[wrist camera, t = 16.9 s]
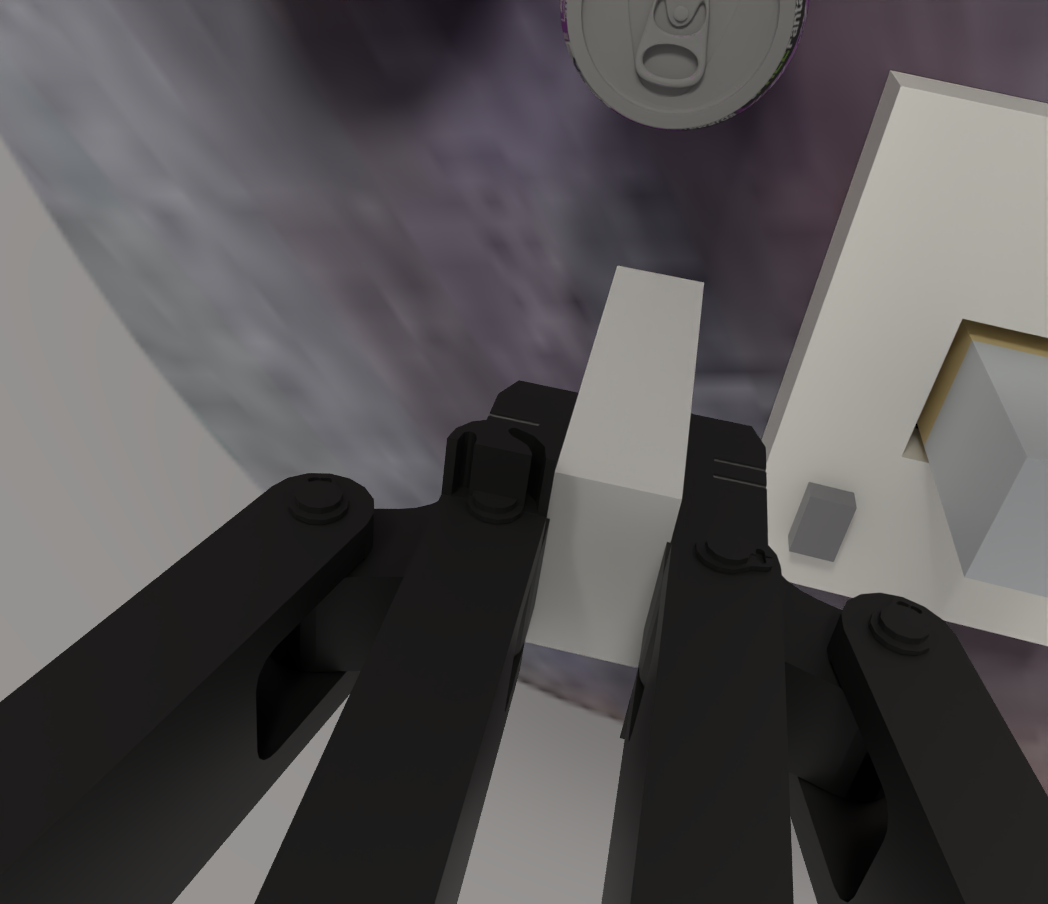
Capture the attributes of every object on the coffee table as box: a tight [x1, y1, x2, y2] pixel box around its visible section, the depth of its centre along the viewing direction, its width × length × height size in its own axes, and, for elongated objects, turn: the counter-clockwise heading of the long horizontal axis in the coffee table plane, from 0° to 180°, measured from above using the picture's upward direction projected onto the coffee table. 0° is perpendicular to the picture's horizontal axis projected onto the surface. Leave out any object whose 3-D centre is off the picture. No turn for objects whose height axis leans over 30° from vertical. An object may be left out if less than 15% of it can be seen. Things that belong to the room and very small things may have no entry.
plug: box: [917, 319, 1048, 598], centre depth 38 cm, size 5×4×12 cm
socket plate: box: [761, 70, 1048, 646], centre depth 41 cm, size 22×16×4 cm
